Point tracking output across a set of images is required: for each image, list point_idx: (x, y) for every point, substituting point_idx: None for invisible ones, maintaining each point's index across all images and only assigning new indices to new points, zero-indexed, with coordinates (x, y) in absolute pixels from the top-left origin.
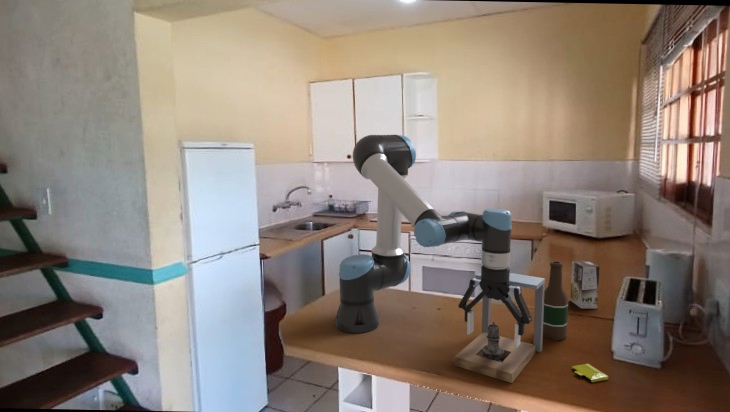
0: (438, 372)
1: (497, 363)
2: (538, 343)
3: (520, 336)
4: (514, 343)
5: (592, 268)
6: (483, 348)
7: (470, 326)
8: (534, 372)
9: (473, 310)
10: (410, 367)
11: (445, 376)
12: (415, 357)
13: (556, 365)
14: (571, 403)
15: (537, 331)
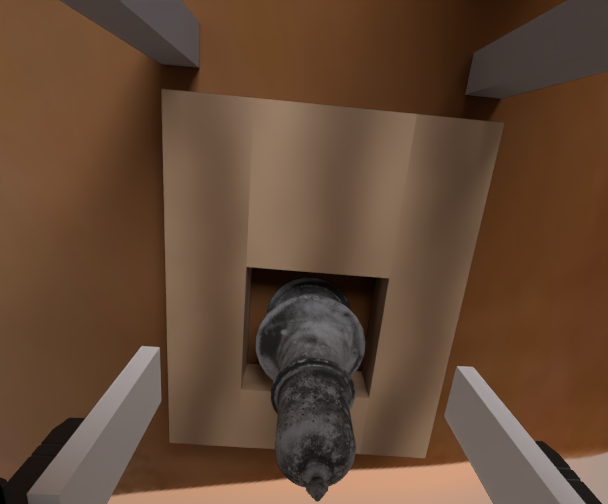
0: (157, 477)
1: (353, 413)
2: (522, 88)
3: (501, 402)
4: (454, 433)
5: None
6: (261, 354)
7: (138, 430)
8: (484, 315)
9: (58, 501)
10: None
11: (192, 487)
12: (18, 427)
13: (576, 205)
14: (605, 445)
15: (574, 71)
